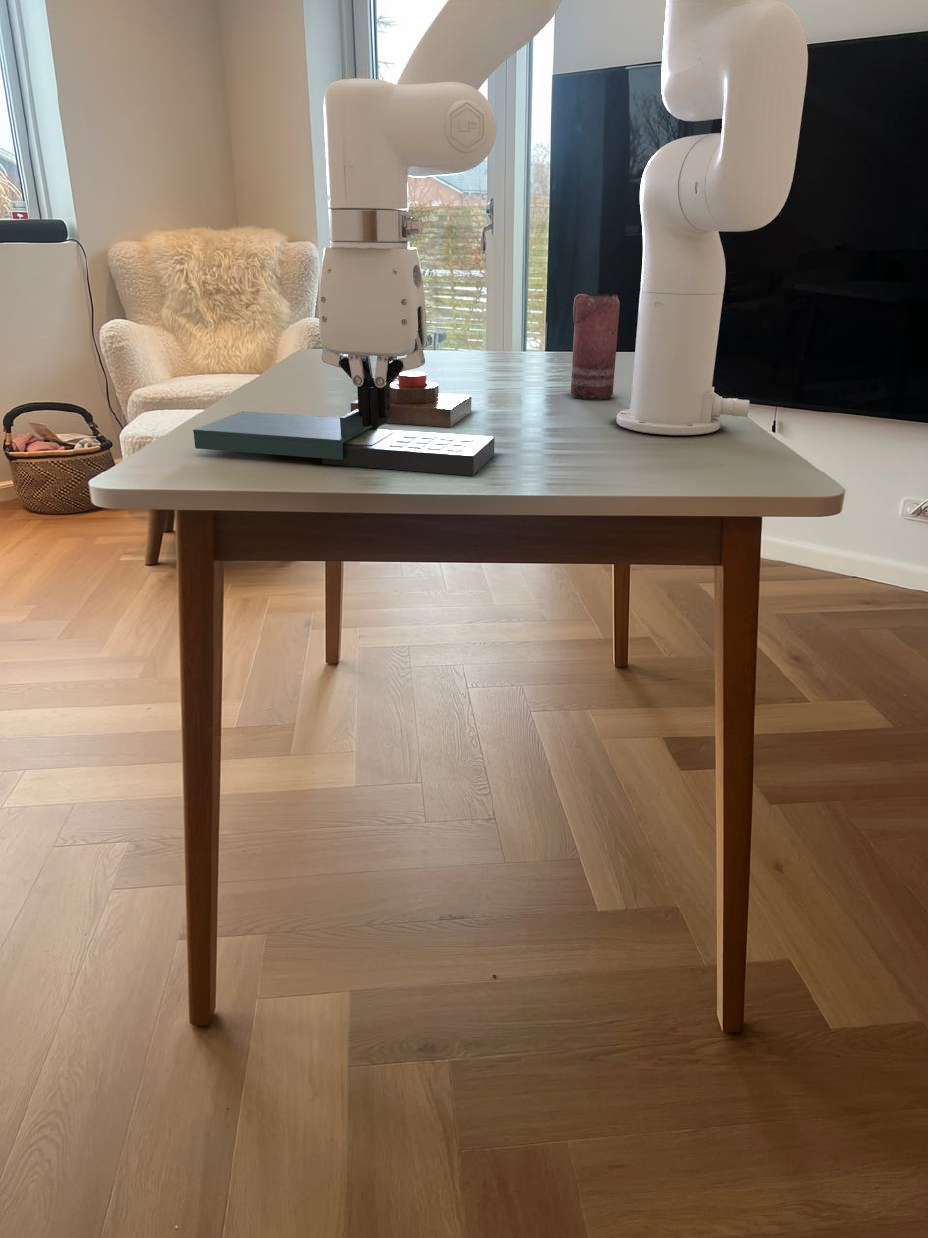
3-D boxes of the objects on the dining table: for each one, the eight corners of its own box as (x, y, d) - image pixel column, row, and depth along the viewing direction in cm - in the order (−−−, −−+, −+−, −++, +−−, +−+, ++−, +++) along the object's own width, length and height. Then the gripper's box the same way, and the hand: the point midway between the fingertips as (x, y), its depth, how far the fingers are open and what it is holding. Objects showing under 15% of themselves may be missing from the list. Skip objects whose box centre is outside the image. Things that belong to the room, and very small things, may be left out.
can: (565, 393, 129) (570, 292, 124) (607, 392, 130) (614, 292, 124) (573, 400, 124) (579, 295, 118) (616, 399, 124) (625, 295, 119)
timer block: (471, 412, 115) (471, 381, 114) (450, 427, 106) (450, 393, 105) (378, 406, 118) (377, 376, 117) (351, 420, 109) (349, 388, 108)
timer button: (430, 386, 112) (429, 372, 111) (421, 390, 109) (421, 376, 108) (403, 384, 113) (403, 370, 112) (394, 389, 110) (393, 375, 109)
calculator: (494, 455, 93) (494, 435, 92) (473, 476, 85) (473, 455, 85) (354, 445, 97) (354, 426, 96) (322, 464, 89) (320, 443, 88)
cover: (378, 438, 97) (377, 401, 95) (342, 459, 88) (340, 419, 86) (243, 428, 101) (240, 393, 99) (195, 448, 91) (190, 409, 90)
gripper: (454, 232, 85) (453, 422, 92) (312, 230, 88) (322, 413, 96) (432, 232, 78) (433, 436, 86) (279, 230, 82) (293, 426, 89)
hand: (374, 423), depth 91 cm, fingers closed
